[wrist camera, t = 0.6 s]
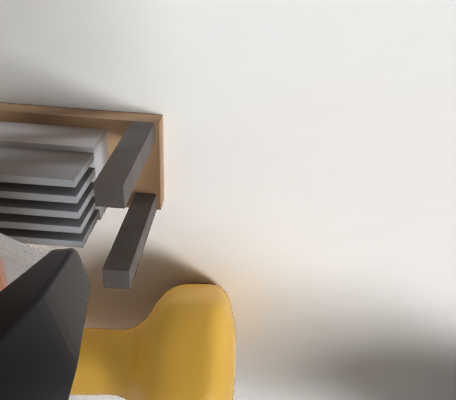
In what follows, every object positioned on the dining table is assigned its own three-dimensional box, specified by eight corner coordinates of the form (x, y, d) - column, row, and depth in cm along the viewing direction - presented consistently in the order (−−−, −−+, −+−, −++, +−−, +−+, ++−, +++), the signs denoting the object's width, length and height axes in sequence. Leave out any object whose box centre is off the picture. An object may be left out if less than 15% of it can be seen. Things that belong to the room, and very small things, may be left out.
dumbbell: (-45, 348, 30) (-136, 475, 23) (-93, 240, 25) (-225, 358, 18) (234, 360, 29) (230, 493, 22) (239, 253, 25) (236, 379, 18)
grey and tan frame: (162, 115, 20) (121, 201, 14) (163, 199, 23) (129, 308, 16) (-65, 97, 20) (-218, 175, 14) (-40, 184, 23) (-160, 287, 16)
